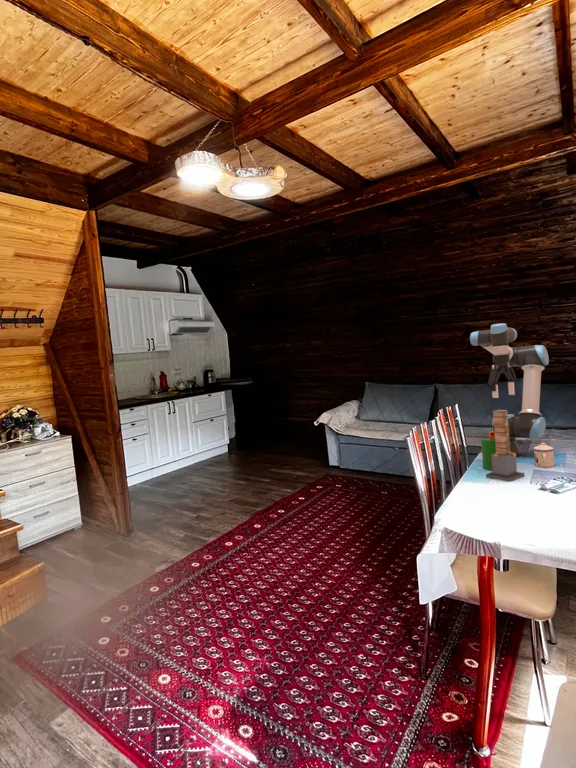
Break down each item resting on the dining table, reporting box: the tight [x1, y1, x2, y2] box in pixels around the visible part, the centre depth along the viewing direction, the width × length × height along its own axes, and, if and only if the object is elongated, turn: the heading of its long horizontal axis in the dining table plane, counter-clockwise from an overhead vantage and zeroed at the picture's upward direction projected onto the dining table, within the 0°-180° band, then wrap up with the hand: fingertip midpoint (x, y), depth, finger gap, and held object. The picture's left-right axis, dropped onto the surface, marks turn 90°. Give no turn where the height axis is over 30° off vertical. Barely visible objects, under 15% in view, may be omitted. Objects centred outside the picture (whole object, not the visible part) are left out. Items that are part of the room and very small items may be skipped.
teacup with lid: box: [533, 442, 555, 468], centre depth 223 cm, size 12×9×12 cm
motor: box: [480, 430, 496, 472], centre depth 226 cm, size 10×9×20 cm
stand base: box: [485, 452, 525, 483], centre depth 211 cm, size 12×12×12 cm
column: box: [492, 409, 511, 455], centre depth 210 cm, size 5×5×23 cm
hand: (503, 396), depth 221 cm, fingers open, 13 cm apart
